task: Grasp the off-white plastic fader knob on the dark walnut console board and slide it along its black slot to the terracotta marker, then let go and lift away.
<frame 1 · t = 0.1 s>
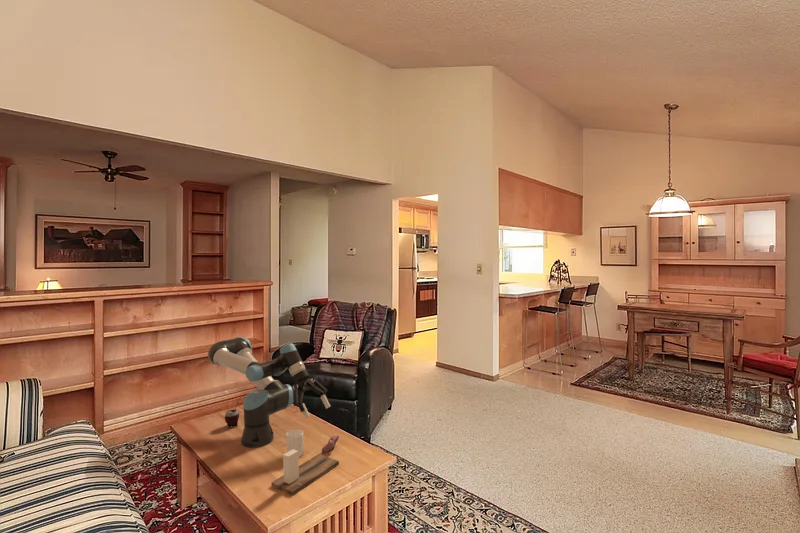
hand: (318, 412, 193), 15 cm above the table, tool tilted 35°, fingers open, 13 cm apart
white cup: (295, 455, 183), on the table
console board: (306, 474, 166), on the table
video game controller: (331, 448, 189), on the table
fader knob: (291, 466, 160), point 7 cm above the table, slide at 0.0 cm
mate gourd: (233, 426, 216), on the table
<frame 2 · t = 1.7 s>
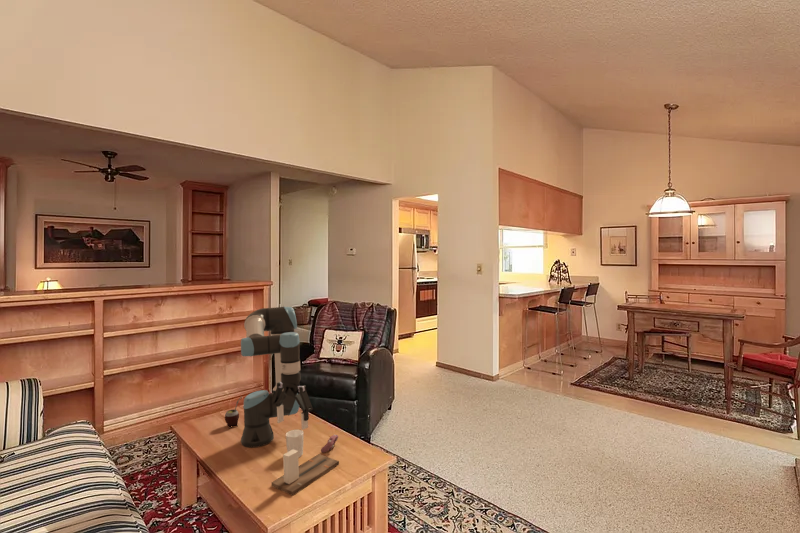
hand: (292, 425, 160), 23 cm above the table, tool pointing down, fingers open, 13 cm apart
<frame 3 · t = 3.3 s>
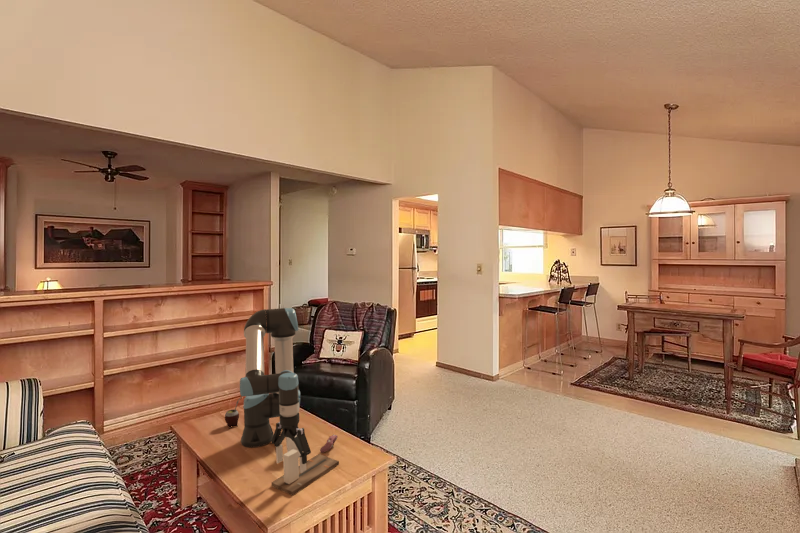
hand: (291, 466, 159), 7 cm above the table, tool pointing down, fingers open, 13 cm apart
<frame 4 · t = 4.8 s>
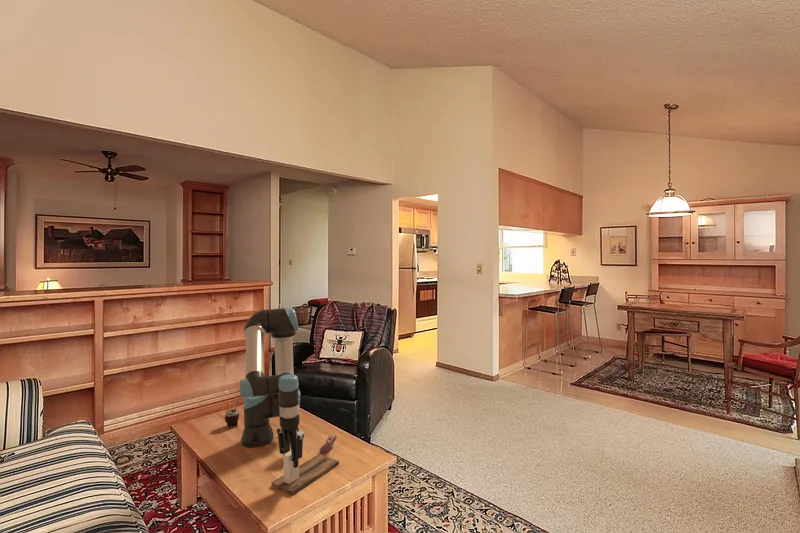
hand: (291, 473, 160), 5 cm above the table, tool pointing down, fingers closed on fader knob, 3 cm apart
fader knob: (291, 466, 160), point 7 cm above the table, slide at 0.0 cm, touching gripper
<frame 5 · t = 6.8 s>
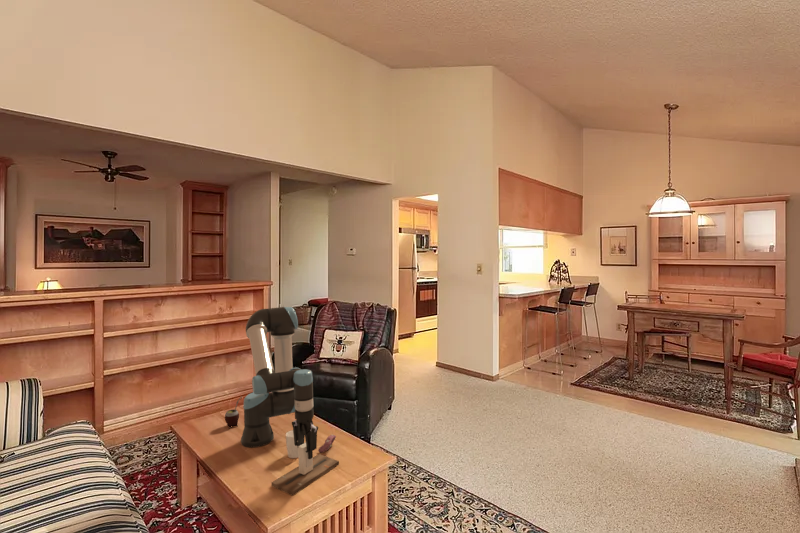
hand: (305, 464, 166), 5 cm above the table, tool pointing down, fingers closed on fader knob, 3 cm apart
fader knob: (305, 457, 166), point 7 cm above the table, slide at 7.7 cm, touching gripper
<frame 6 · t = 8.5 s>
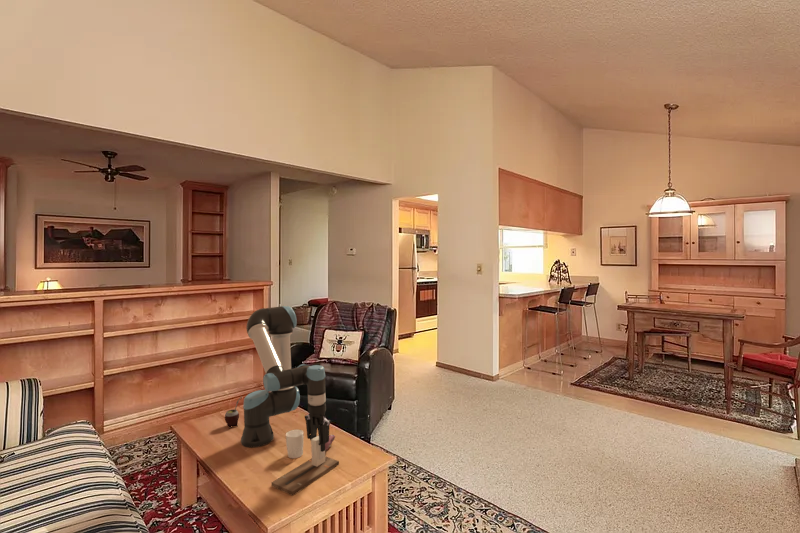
hand: (318, 456, 172), 5 cm above the table, tool pointing down, fingers closed on fader knob, 3 cm apart
fader knob: (318, 450, 172), point 7 cm above the table, slide at 14.9 cm, touching gripper
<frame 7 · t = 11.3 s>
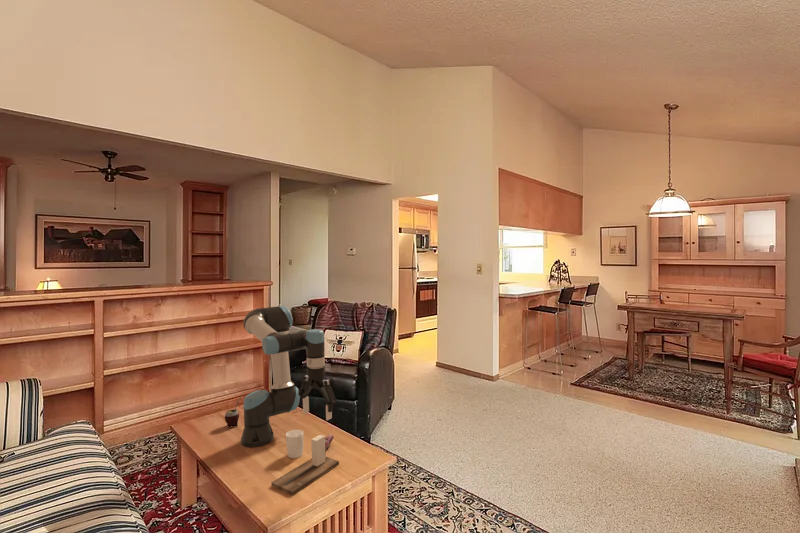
hand: (317, 415, 171), 22 cm above the table, tool pointing down, fingers open, 13 cm apart
fader knob: (318, 450, 172), point 7 cm above the table, slide at 15.0 cm
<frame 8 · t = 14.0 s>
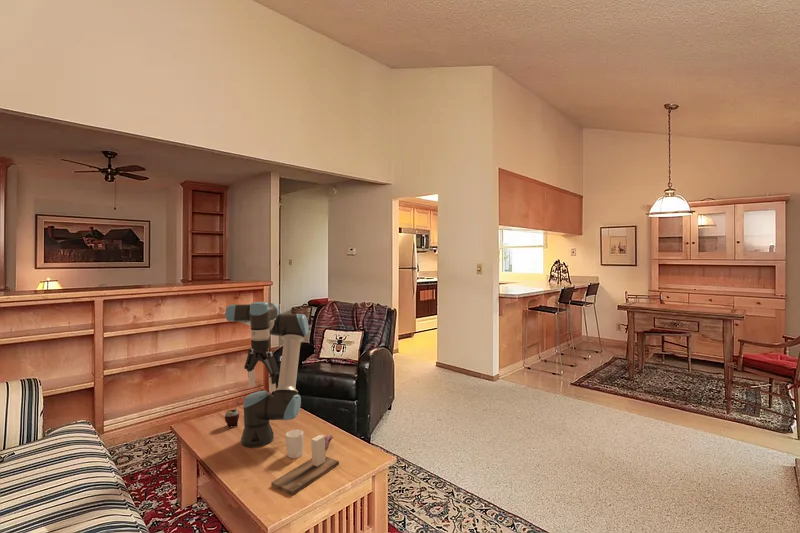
hand: (262, 388, 171), 35 cm above the table, tool pointing down, fingers open, 13 cm apart
at the end: fader knob slide at 15.0 cm; the gripper is holding nothing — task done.
